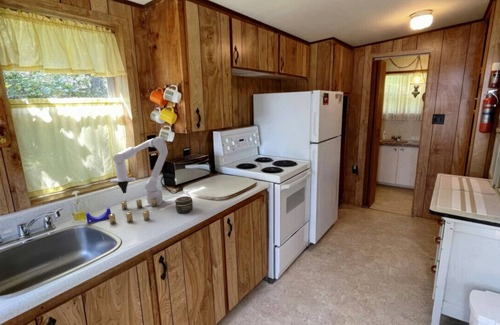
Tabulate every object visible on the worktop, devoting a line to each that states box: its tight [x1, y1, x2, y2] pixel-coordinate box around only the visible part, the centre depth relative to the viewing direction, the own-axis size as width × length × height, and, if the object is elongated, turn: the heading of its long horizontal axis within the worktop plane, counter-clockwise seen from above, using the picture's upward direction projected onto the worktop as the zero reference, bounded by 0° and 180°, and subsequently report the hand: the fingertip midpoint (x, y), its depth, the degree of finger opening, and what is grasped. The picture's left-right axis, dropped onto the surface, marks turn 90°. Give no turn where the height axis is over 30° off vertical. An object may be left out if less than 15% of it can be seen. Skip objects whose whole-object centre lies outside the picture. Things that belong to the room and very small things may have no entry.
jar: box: [174, 195, 194, 215], centre depth 155 cm, size 10×10×8 cm
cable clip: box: [85, 206, 112, 225], centre depth 149 cm, size 12×4×6 cm, turn 123°
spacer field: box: [108, 198, 158, 225], centre depth 154 cm, size 21×23×5 cm
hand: (124, 192), depth 165 cm, fingers closed
